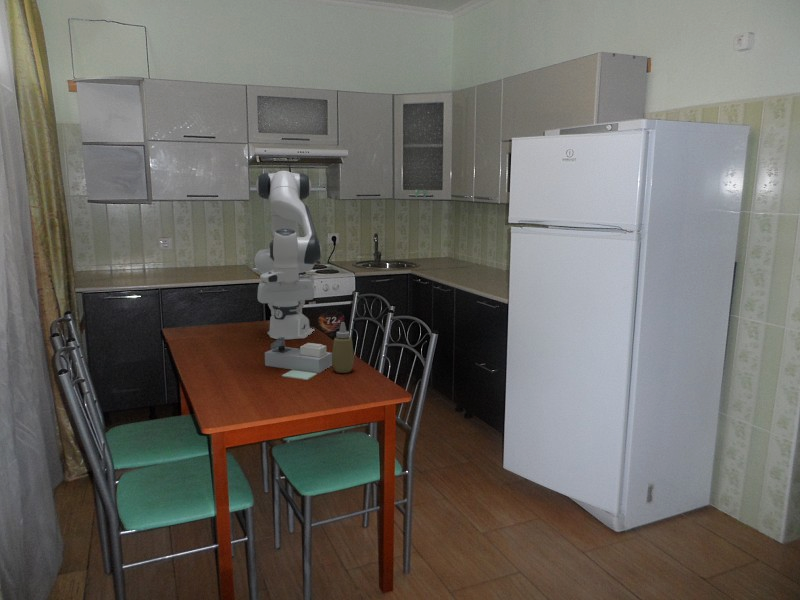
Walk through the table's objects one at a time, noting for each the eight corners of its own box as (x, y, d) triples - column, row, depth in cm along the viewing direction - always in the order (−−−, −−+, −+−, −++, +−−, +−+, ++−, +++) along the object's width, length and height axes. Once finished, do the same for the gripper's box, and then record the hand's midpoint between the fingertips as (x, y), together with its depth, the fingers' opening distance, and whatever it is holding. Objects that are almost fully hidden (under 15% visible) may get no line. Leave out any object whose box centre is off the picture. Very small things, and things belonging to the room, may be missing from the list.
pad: (292, 370, 219) (292, 369, 219) (316, 374, 215) (316, 373, 215) (281, 376, 212) (281, 375, 212) (306, 380, 209) (306, 378, 209)
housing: (279, 358, 234) (279, 345, 233) (332, 365, 226) (332, 352, 225) (265, 365, 224) (264, 351, 223) (319, 373, 216) (318, 358, 215)
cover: (307, 351, 226) (307, 341, 225) (326, 353, 223) (326, 344, 222) (300, 354, 221) (300, 344, 220) (319, 357, 218) (319, 347, 217)
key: (285, 348, 228) (285, 337, 227) (276, 355, 218) (275, 343, 217) (279, 348, 228) (279, 337, 227) (269, 355, 219) (269, 343, 218)
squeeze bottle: (354, 374, 216) (354, 324, 213) (331, 374, 215) (331, 324, 212) (354, 367, 224) (354, 319, 221) (332, 367, 223) (332, 319, 220)
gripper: (310, 272, 223) (310, 309, 226) (255, 275, 213) (256, 314, 216) (316, 275, 218) (317, 312, 220) (260, 278, 208) (261, 317, 210)
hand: (286, 313), depth 218 cm, fingers open, 8 cm apart
